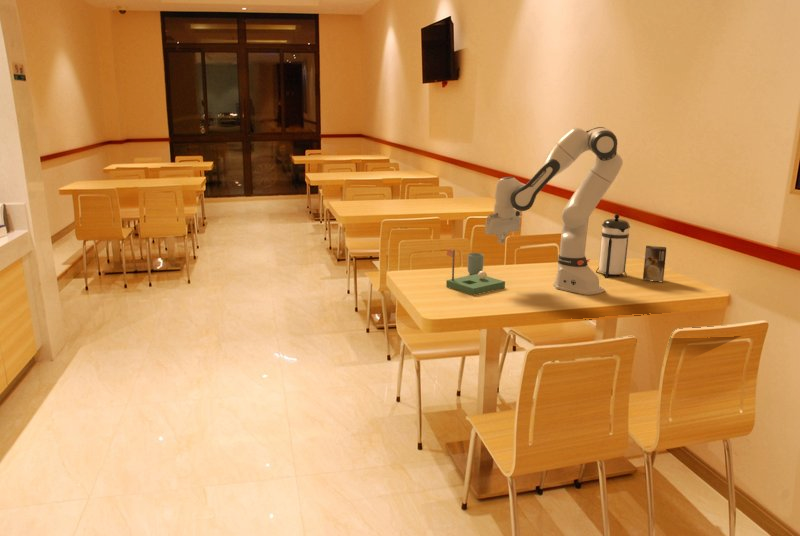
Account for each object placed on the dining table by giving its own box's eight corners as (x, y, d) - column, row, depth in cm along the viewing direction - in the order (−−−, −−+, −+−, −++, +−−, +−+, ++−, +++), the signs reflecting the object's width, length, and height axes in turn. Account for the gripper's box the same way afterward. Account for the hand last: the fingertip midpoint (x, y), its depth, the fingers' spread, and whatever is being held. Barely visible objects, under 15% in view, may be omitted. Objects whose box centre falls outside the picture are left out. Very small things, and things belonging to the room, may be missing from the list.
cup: (482, 272, 304) (483, 253, 301) (483, 276, 296) (484, 256, 294) (466, 272, 304) (467, 252, 302) (466, 276, 297) (467, 256, 295)
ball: (488, 279, 279) (488, 271, 279) (482, 281, 277) (482, 272, 276) (482, 277, 283) (482, 269, 282) (475, 279, 280) (476, 270, 279)
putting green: (504, 287, 278) (506, 251, 274) (472, 295, 266) (474, 256, 262) (474, 278, 292) (475, 243, 288) (442, 285, 280) (443, 248, 276)
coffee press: (632, 274, 305) (639, 214, 297) (619, 280, 293) (626, 217, 286) (599, 268, 316) (604, 210, 308) (585, 274, 304) (590, 213, 297)
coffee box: (663, 279, 295) (666, 246, 291) (663, 282, 290) (667, 249, 286) (642, 277, 299) (646, 245, 295) (642, 280, 293) (645, 247, 289)
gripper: (492, 215, 271) (490, 246, 275) (523, 212, 284) (521, 241, 287) (482, 213, 276) (480, 243, 279) (513, 210, 288) (511, 239, 292)
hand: (501, 242), depth 283 cm, fingers closed
